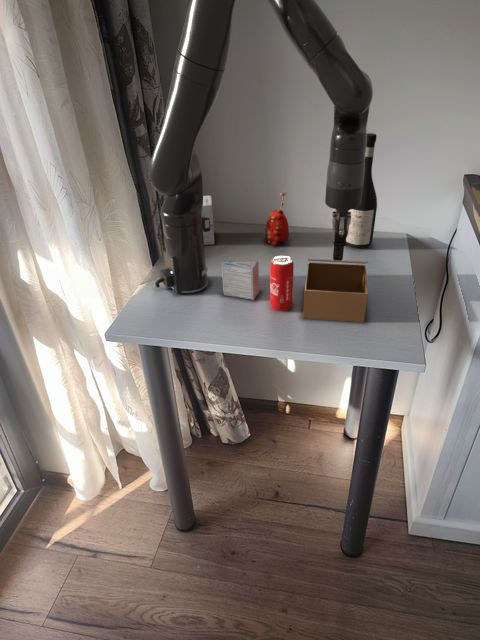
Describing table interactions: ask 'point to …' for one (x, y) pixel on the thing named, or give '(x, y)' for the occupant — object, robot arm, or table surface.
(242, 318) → the table surface
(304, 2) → the robot arm
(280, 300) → the beverage can
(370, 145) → the wine bottle
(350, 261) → the flap
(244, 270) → the medicine box
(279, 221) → the red rounded body
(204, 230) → the ink box
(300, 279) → the table surface
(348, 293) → the carton
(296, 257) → the table surface
